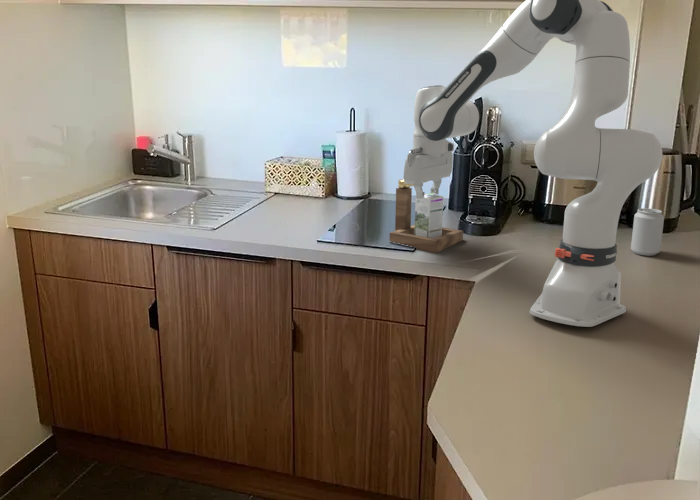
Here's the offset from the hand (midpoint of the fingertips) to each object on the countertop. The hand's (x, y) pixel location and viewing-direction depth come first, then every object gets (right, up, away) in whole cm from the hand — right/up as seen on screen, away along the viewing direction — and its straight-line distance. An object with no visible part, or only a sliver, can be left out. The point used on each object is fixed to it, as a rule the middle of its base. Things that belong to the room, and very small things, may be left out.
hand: (427, 196), depth 198 cm
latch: (-3, +4, +9) cm, 10 cm away
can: (+59, -16, -2) cm, 62 cm away
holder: (-1, -13, +4) cm, 14 cm away
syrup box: (0, -14, +3) cm, 14 cm away
